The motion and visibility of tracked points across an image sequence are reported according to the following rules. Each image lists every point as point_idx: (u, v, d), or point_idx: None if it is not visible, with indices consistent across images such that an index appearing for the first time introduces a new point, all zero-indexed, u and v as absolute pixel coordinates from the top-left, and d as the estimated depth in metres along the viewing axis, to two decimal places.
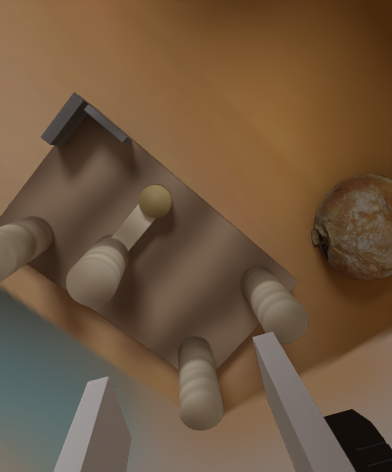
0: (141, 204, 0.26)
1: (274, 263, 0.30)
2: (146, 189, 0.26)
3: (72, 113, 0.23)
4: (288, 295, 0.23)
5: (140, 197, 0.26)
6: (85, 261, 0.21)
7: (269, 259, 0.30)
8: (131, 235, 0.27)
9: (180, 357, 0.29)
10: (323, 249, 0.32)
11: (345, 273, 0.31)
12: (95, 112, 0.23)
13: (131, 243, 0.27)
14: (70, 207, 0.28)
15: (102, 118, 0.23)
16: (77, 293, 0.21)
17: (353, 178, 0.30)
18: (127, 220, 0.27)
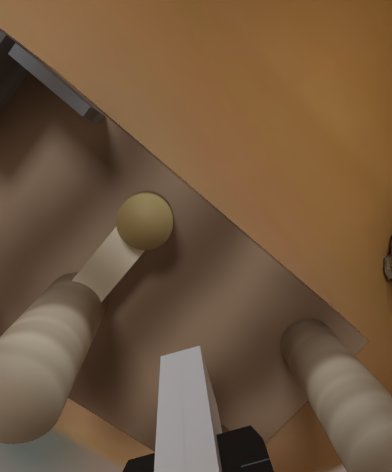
0: (121, 227, 0.15)
1: (333, 314, 0.19)
2: (129, 201, 0.15)
3: None
4: (388, 400, 0.13)
5: (119, 215, 0.15)
6: None
7: (326, 308, 0.19)
8: (105, 277, 0.16)
9: None
10: None
11: None
12: (29, 59, 0.12)
13: (106, 290, 0.16)
14: (6, 228, 0.17)
15: (43, 71, 0.12)
16: None
17: None
18: (98, 252, 0.16)
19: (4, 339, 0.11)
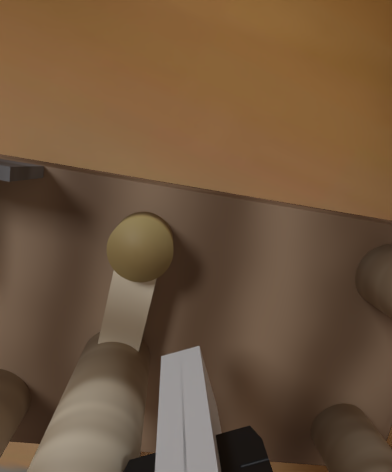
0: (118, 266, 0.13)
1: None
2: (113, 236, 0.13)
3: None
4: None
5: (109, 255, 0.13)
6: None
7: (387, 227, 0.16)
8: (129, 324, 0.14)
9: (328, 465, 0.16)
10: None
11: None
12: None
13: (137, 337, 0.14)
14: (21, 328, 0.15)
15: None
16: None
17: None
18: (110, 302, 0.14)
19: (37, 455, 0.09)
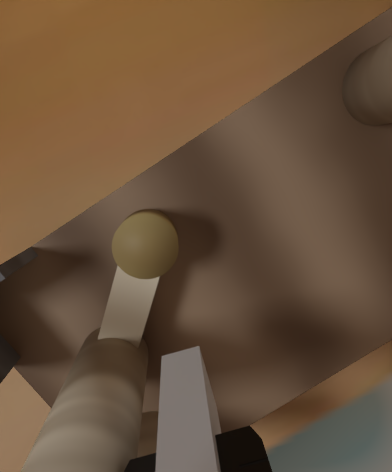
0: (122, 262, 0.13)
1: (353, 36, 0.14)
2: (119, 231, 0.13)
3: None
4: None
5: (114, 250, 0.13)
6: None
7: (340, 45, 0.14)
8: (130, 321, 0.14)
9: None
10: None
11: None
12: None
13: (137, 334, 0.14)
14: None
15: None
16: None
17: None
18: (112, 298, 0.14)
19: (36, 448, 0.09)
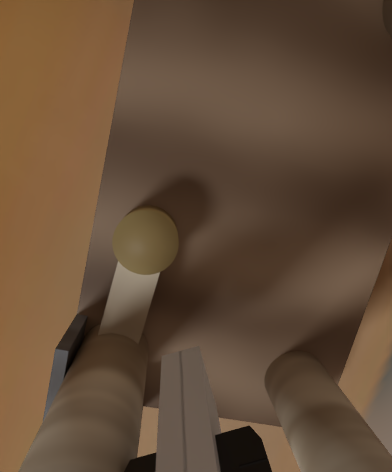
0: (122, 258, 0.13)
1: None
2: (119, 227, 0.13)
3: None
4: None
5: (115, 246, 0.13)
6: None
7: None
8: (130, 317, 0.14)
9: None
10: None
11: None
12: (48, 409, 0.13)
13: (137, 329, 0.14)
14: (228, 350, 0.17)
15: (50, 395, 0.13)
16: None
17: None
18: (112, 294, 0.14)
19: (37, 440, 0.09)
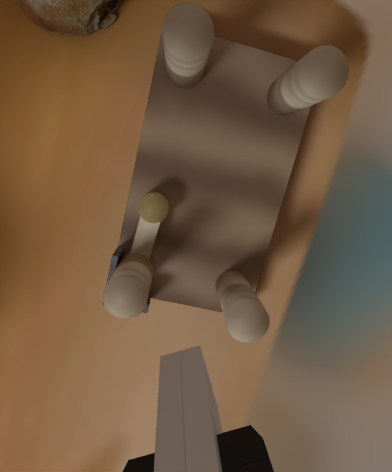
0: (142, 215, 0.28)
1: (157, 60, 0.27)
2: (141, 200, 0.28)
3: None
4: (163, 42, 0.21)
5: (139, 209, 0.28)
6: (112, 281, 0.23)
7: (156, 68, 0.27)
8: (145, 245, 0.29)
9: (291, 111, 0.27)
10: (114, 4, 0.28)
11: None
12: None
13: (149, 251, 0.29)
14: (196, 268, 0.32)
15: (109, 278, 0.28)
16: (117, 310, 0.24)
17: (29, 16, 0.27)
18: (137, 233, 0.29)
19: (112, 277, 0.24)
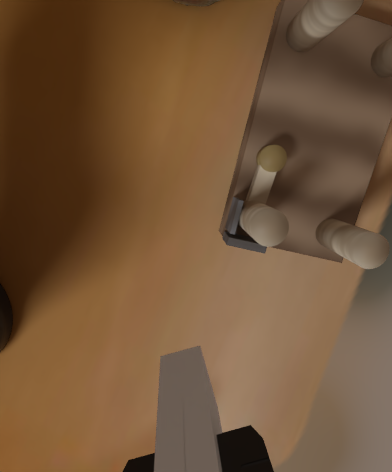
0: (264, 164, 0.32)
1: (279, 27, 0.31)
2: (264, 151, 0.31)
3: (240, 240, 0.32)
4: (315, 4, 0.25)
5: (261, 159, 0.32)
6: (261, 213, 0.27)
7: (277, 34, 0.31)
8: (262, 193, 0.33)
9: None
10: None
11: None
12: (232, 226, 0.32)
13: (265, 199, 0.33)
14: (299, 216, 0.35)
15: (234, 220, 0.32)
16: (262, 239, 0.27)
17: None
18: (256, 182, 0.33)
19: (254, 212, 0.28)
